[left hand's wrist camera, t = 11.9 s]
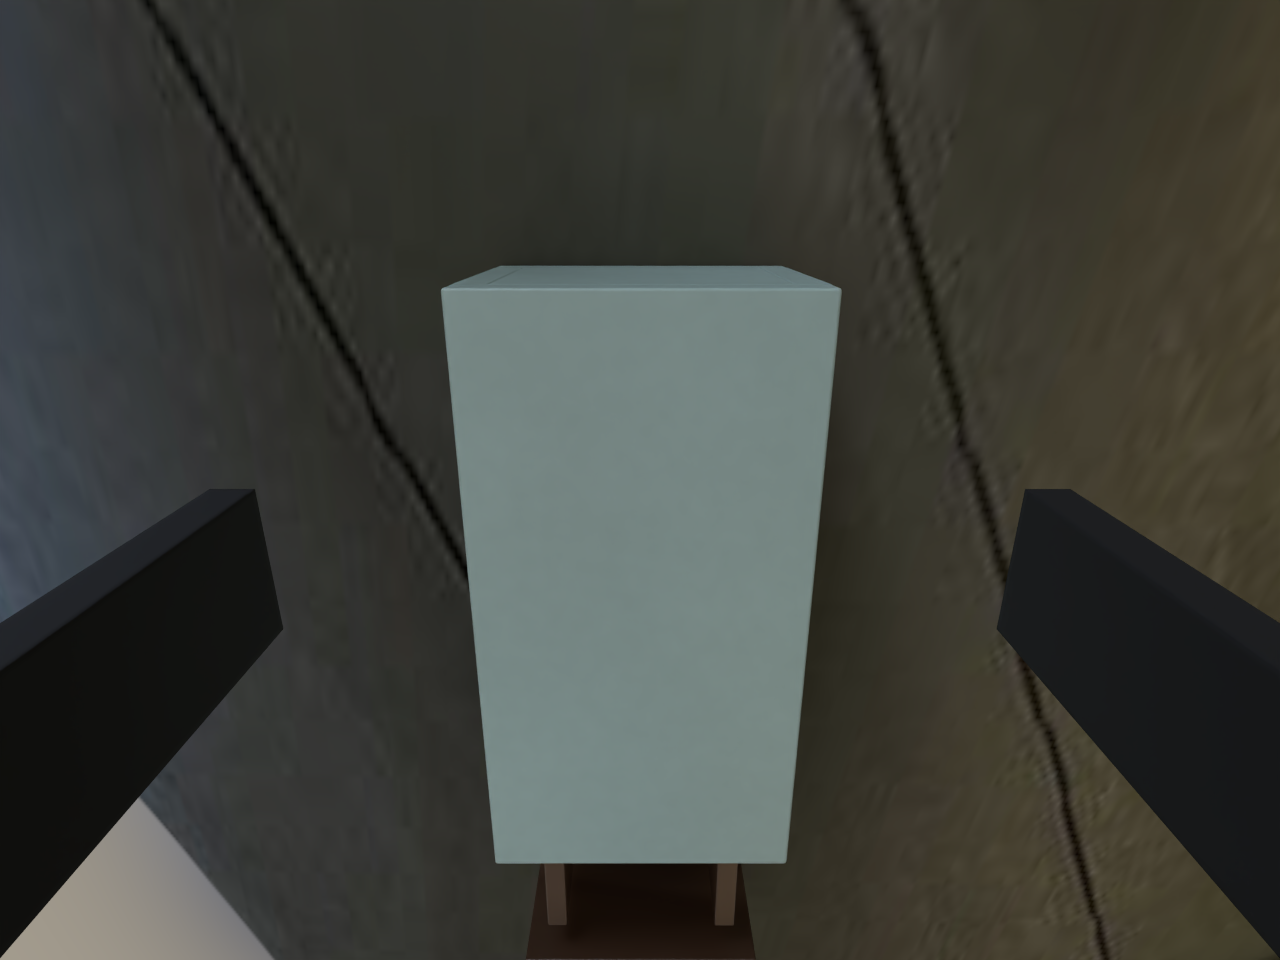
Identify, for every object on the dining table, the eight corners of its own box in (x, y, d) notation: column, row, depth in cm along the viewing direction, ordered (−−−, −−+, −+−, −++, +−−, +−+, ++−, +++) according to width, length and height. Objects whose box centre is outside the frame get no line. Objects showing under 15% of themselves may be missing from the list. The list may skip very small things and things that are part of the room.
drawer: (729, 937, 38) (746, 1072, 32) (551, 937, 38) (534, 1073, 32) (757, 497, 29) (788, 571, 23) (523, 497, 29) (494, 571, 23)
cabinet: (752, 713, 34) (786, 864, 26) (528, 713, 34) (494, 864, 26) (783, 265, 27) (843, 287, 19) (498, 265, 27) (439, 288, 19)
